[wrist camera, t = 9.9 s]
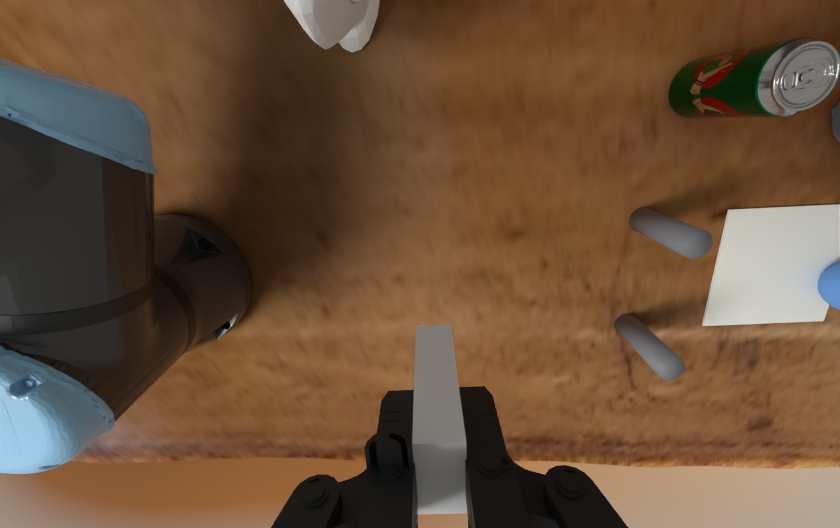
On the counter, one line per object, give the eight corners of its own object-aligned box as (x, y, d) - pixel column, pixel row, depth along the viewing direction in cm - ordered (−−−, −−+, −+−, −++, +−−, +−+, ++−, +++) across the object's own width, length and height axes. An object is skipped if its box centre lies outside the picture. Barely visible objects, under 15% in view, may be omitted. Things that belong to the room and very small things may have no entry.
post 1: (627, 231, 42) (678, 259, 34) (630, 208, 42) (684, 230, 33) (651, 230, 42) (708, 258, 34) (655, 206, 41) (715, 229, 33)
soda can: (719, 110, 38) (843, 105, 27) (666, 123, 39) (766, 125, 27) (719, 53, 36) (852, 24, 25) (664, 68, 37) (770, 46, 26)
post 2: (613, 333, 47) (655, 380, 38) (616, 314, 46) (659, 358, 37) (635, 332, 47) (682, 379, 38) (638, 313, 46) (687, 357, 37)
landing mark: (701, 325, 46) (702, 326, 46) (727, 209, 41) (729, 209, 41) (822, 320, 46) (823, 321, 46) (862, 202, 41) (864, 203, 41)
